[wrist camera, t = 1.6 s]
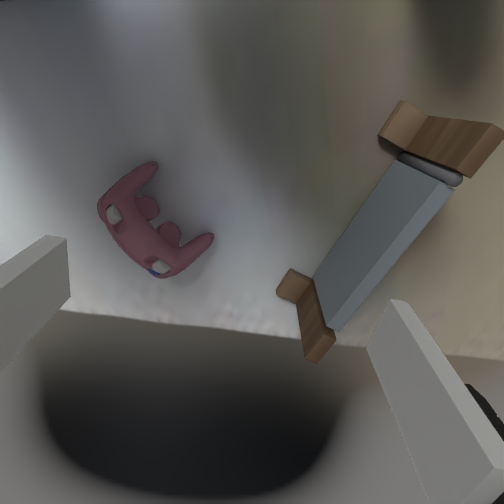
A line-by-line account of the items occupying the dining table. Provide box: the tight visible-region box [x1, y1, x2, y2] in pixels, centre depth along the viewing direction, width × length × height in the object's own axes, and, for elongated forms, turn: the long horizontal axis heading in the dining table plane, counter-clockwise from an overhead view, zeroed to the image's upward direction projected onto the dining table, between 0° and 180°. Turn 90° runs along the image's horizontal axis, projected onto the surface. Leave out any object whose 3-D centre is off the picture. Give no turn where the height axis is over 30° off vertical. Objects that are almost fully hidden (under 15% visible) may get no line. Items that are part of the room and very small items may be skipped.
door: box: [313, 152, 463, 332], centre depth 27 cm, size 2×14×8 cm, turn 153°
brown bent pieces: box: [276, 101, 504, 364], centre depth 27 cm, size 6×21×9 cm, turn 153°
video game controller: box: [97, 162, 214, 279], centre depth 29 cm, size 10×5×7 cm, turn 35°
